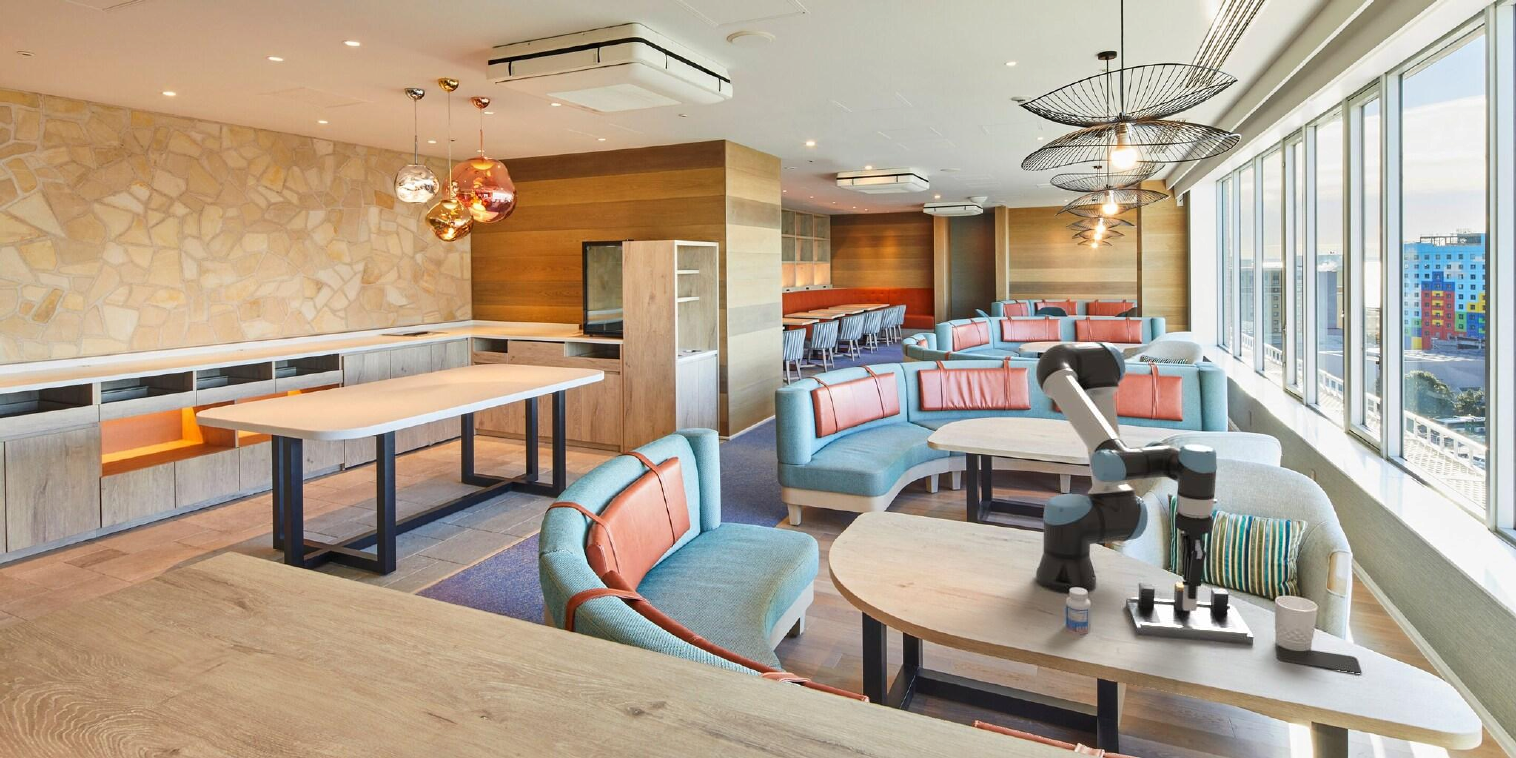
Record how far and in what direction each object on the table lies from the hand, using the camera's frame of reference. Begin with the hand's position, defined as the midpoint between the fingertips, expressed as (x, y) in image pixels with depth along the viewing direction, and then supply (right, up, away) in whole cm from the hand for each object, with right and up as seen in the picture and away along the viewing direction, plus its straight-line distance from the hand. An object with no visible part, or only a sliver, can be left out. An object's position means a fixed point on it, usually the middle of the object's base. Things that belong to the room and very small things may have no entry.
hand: (1189, 609), depth 192 cm
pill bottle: (-25, -6, +3) cm, 26 cm away
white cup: (+19, -6, -8) cm, 21 cm away
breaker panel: (+1, -4, +3) cm, 6 cm away
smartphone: (+20, -7, -15) cm, 26 cm away
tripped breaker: (+2, -2, +7) cm, 8 cm away
